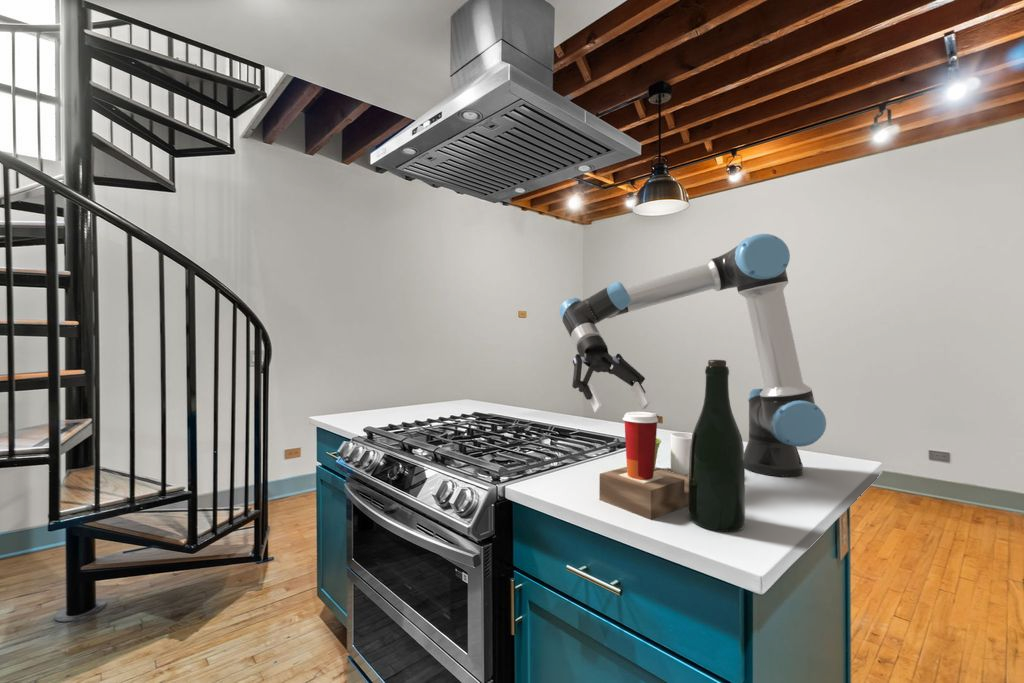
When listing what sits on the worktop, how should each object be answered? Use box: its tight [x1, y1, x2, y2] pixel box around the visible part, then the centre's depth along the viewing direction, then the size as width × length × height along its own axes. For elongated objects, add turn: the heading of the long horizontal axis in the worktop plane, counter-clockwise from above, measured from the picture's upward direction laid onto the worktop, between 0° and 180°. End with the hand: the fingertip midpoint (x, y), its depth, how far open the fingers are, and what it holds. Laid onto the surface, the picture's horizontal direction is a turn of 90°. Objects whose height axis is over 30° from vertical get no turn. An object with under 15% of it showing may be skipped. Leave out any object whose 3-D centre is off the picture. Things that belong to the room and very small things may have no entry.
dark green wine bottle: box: [687, 359, 746, 532], centre depth 90 cm, size 10×10×33 cm
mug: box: [670, 431, 693, 476], centre depth 123 cm, size 12×8×10 cm
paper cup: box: [622, 411, 659, 480], centre depth 100 cm, size 8×8×14 cm
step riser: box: [598, 466, 689, 520], centre depth 104 cm, size 24×14×6 cm, turn 126°
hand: (622, 407), depth 106 cm, fingers open, 13 cm apart
